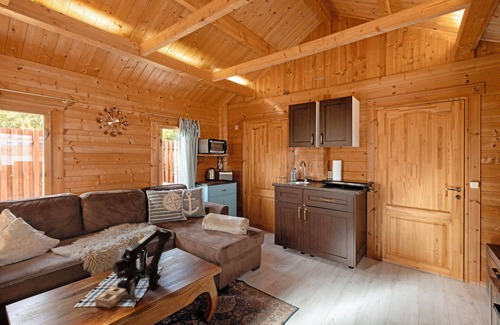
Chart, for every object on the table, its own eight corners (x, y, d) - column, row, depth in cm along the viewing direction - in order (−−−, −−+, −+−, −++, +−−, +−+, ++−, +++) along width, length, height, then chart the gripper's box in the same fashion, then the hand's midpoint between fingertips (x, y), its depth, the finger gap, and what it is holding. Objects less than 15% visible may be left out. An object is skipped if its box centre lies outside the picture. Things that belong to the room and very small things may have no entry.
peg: (131, 295, 156) (131, 280, 156) (136, 296, 155) (136, 281, 155) (126, 299, 152) (126, 283, 152) (132, 299, 151) (132, 284, 151)
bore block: (114, 292, 159) (114, 285, 159) (127, 294, 157) (127, 287, 157) (95, 306, 144) (95, 299, 144) (109, 308, 142) (109, 301, 142)
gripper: (130, 259, 164) (130, 282, 164) (109, 273, 145) (109, 298, 146) (145, 261, 161) (145, 284, 162) (125, 275, 143) (125, 300, 144)
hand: (131, 291), depth 153 cm, fingers open, 5 cm apart
